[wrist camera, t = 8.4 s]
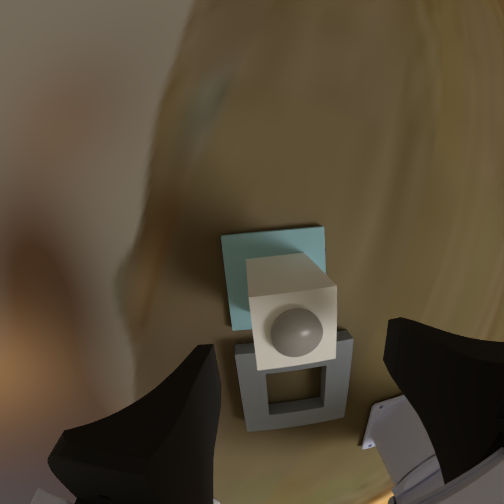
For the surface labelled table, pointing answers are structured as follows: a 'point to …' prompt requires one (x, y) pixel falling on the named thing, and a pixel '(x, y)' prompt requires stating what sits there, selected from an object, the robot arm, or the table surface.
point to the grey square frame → (298, 411)
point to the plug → (291, 311)
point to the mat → (263, 246)
